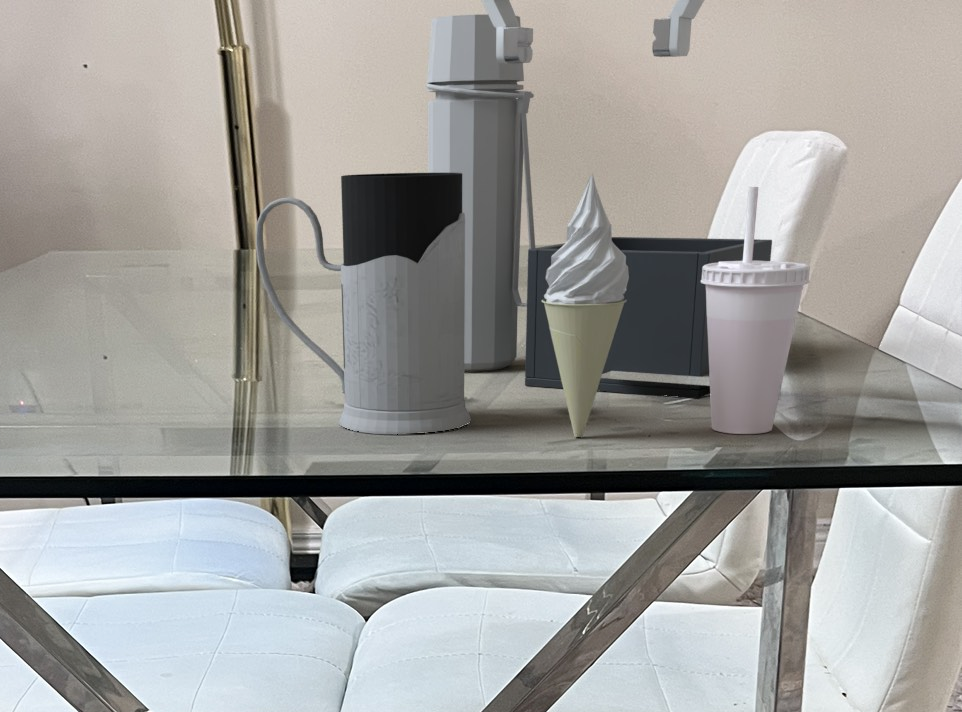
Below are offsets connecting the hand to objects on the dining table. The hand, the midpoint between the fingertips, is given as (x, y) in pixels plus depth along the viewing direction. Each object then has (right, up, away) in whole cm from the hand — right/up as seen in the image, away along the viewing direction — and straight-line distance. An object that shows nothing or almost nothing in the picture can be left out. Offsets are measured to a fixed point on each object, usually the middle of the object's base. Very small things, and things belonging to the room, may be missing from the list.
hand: (590, 60), depth 78 cm
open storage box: (+9, -9, +29) cm, 31 cm away
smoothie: (+11, -18, +10) cm, 24 cm away
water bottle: (-3, -7, +36) cm, 36 cm away
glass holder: (-13, -16, +15) cm, 26 cm away
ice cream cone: (+1, -19, +9) cm, 21 cm away
